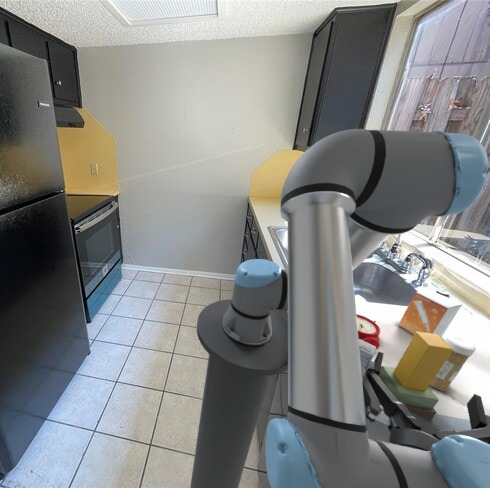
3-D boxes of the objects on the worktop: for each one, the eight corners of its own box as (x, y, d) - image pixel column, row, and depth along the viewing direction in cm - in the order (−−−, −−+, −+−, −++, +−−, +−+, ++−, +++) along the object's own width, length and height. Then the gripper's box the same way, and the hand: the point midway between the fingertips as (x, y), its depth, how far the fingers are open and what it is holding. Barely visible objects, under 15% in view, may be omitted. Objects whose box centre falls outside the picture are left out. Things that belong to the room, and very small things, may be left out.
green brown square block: (368, 382, 63) (378, 363, 61) (406, 389, 62) (417, 370, 59) (386, 414, 56) (398, 394, 53) (429, 423, 55) (444, 403, 52)
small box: (397, 325, 83) (414, 291, 77) (411, 321, 85) (428, 288, 79) (427, 343, 76) (448, 307, 70) (441, 339, 77) (463, 304, 72)
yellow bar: (393, 371, 58) (415, 331, 53) (413, 375, 58) (438, 334, 53) (403, 387, 55) (429, 345, 50) (425, 391, 54) (453, 349, 49)
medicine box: (364, 371, 66) (377, 346, 62) (360, 382, 63) (373, 356, 59) (330, 353, 71) (340, 329, 67) (325, 362, 68) (335, 337, 65)
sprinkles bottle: (452, 393, 61) (482, 351, 56) (430, 389, 62) (458, 347, 57) (438, 376, 65) (465, 336, 60) (417, 373, 66) (442, 332, 61)
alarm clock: (382, 320, 79) (388, 340, 67) (374, 338, 80) (379, 360, 68) (342, 307, 84) (341, 322, 72) (336, 324, 86) (334, 342, 74)
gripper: (316, 425, 44) (342, 354, 59) (556, 584, 29) (511, 437, 44) (329, 396, 41) (352, 329, 56) (604, 557, 26) (538, 408, 41)
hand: (422, 376), depth 50 cm, fingers open, 13 cm apart
